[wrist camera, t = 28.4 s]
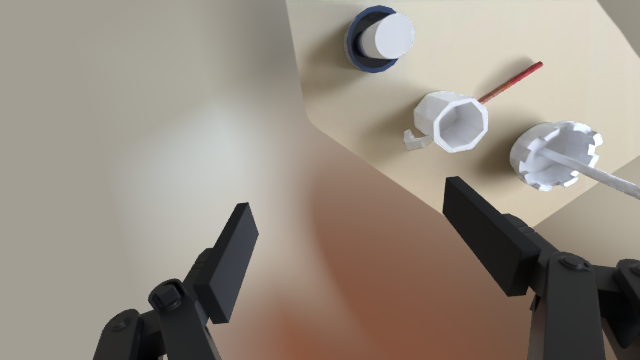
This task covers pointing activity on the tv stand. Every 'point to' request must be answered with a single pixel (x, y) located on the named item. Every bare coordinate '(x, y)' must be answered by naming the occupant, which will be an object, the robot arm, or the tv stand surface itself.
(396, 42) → the tube
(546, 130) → the flag stand
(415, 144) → the mug
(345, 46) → the cup
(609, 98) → the tv stand surface
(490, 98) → the pencil
